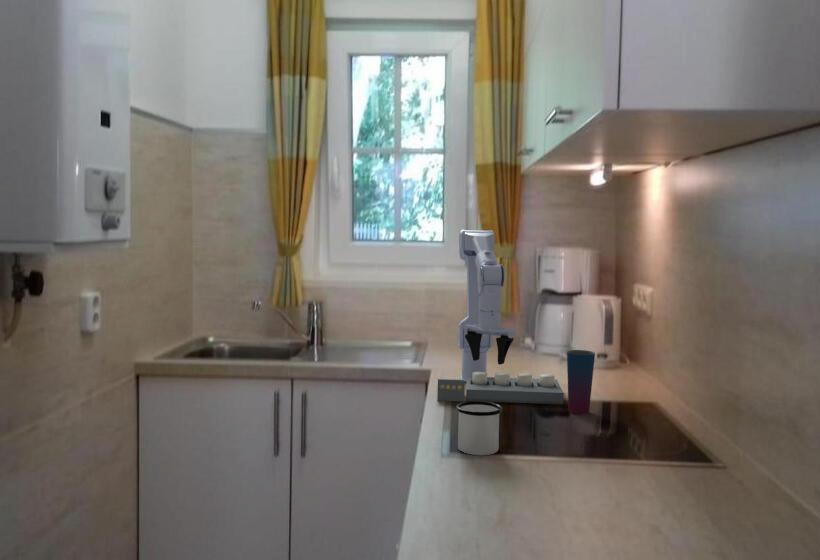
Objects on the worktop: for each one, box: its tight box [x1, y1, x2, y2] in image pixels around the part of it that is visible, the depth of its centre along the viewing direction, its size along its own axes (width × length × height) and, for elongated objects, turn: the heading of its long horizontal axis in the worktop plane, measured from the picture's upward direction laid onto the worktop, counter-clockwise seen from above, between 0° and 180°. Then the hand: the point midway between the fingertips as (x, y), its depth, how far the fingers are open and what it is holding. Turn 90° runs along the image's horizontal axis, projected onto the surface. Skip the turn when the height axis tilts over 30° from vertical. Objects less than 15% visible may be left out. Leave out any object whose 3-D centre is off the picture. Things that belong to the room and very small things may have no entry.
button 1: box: [472, 372, 488, 385], centre depth 204 cm, size 4×4×3 cm
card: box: [436, 378, 466, 402], centre depth 196 cm, size 1×7×6 cm, turn 86°
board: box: [465, 376, 564, 405], centre depth 203 cm, size 16×25×3 cm, turn 85°
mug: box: [455, 401, 503, 457], centre depth 156 cm, size 12×10×9 cm
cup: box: [566, 349, 596, 415], centre depth 186 cm, size 7×7×15 cm
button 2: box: [494, 372, 511, 386], centre depth 204 cm, size 4×4×3 cm
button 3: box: [516, 372, 533, 387], centre depth 203 cm, size 4×4×3 cm
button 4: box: [538, 373, 555, 387], centre depth 203 cm, size 4×4×3 cm
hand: (488, 361), depth 198 cm, fingers open, 7 cm apart
